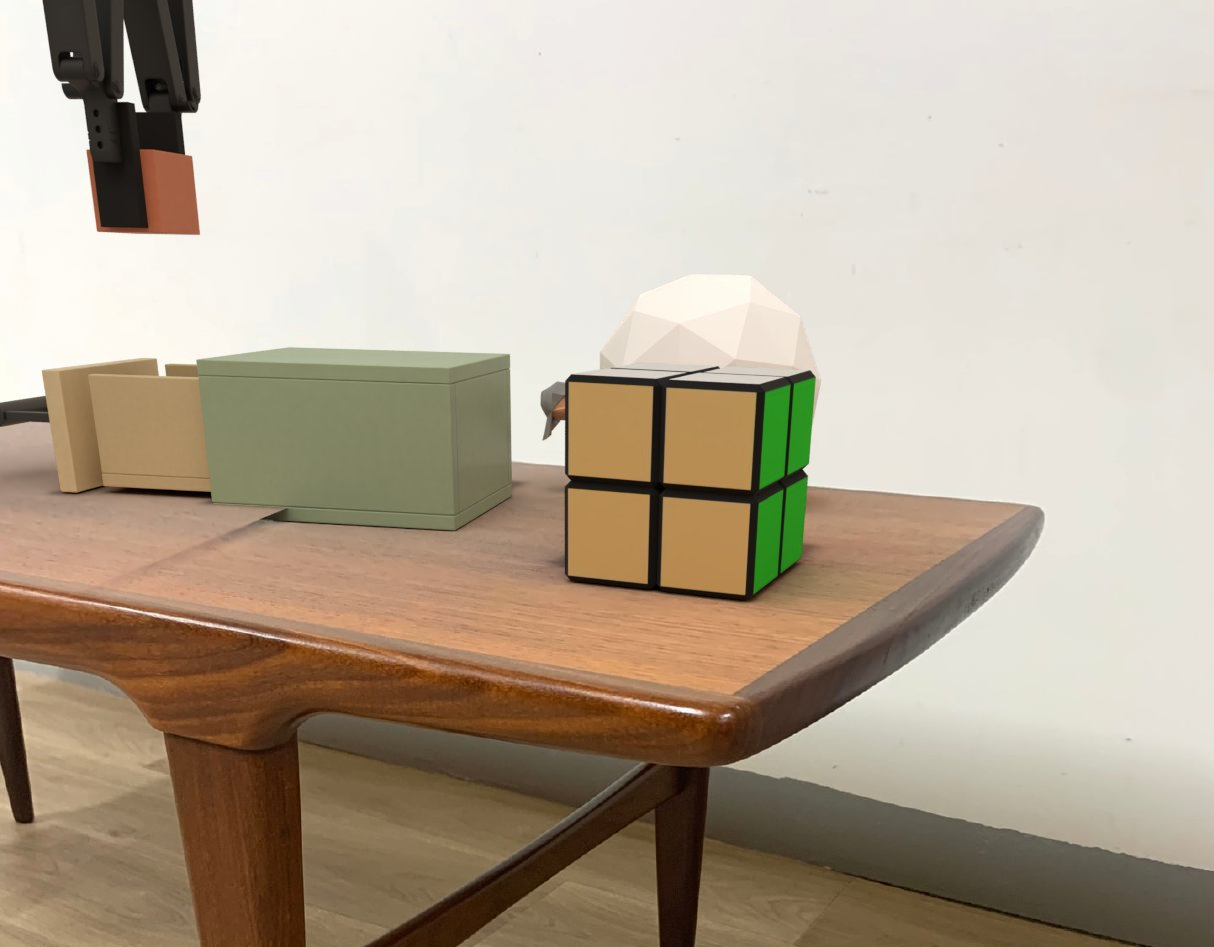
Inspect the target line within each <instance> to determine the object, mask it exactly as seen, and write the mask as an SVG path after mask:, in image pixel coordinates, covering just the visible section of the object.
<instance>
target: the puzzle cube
mask: <svg viewBox="0 0 1214 947" xmlns="http://www.w3.org/2000/svg"><path fill="white" fill-rule="evenodd" d="M815 381H816V377H815V375H814V374H813V373H812V372H811V370H795V369H774V368H753V367H732V366H729V367H725V368H720V367H719V366H706V365H684V364H663V363H636V364H630V365H624V366H618V367H612V368H610V369H609V368H606V369H600V368H599V369H594V370H589V371H583V372H577V373H571V374H570V375H569V376H568V377H567V378H566V379H565V381H564V383H565V420H564V474H565V476H566V477H567V478H568V479H569V480H570V481H569V482H568V483H566V485H565V486H564V575H565V576H566V577H567V579H568V580H569V581H570V582H578V583H579V582H580V583H588V584H597V585H598V584H599V585H605V586H607V585H608V586H616V587H625V588H633V589H634V588H636V589H644V590H651V589H653V588H655V587H656V586H657V587H658V588H659V589H660V590H661V592H666V593H667V592H668V593H676V594H684V595H685V594H686V595H695V596H702V597H703V596H704V597H713V598H722V599H730V600H731V599H732V600H741V601H748V600H749V599H750V598H752V597H753V596H754V595H756V594H757V593H758V592H759V591H761V590H762V589H763V588H764V587H766V586H767V585H769V584H770V583H771V582H773V581H774V580H775V579H776V578H778V577H780V575H781V574H783V573H784V572H786V571H787V570H788V569H789V568H790V567H792V566H794V565H795V564H796V563H797V562H798V561H799V560H801V559H802V557H803V547H804V546H803V545H804V536H805V521H806V507H807V497H808V496H807V494H808V485H809V484H808V483H809V475H808V474H807V473H806V471H805V470H804V469H805V468H806V467H807V466H808V465H810V456H811V445H812V431H813V424H812V420H813V421H814V419H813V407H814V394H815Z"/></svg>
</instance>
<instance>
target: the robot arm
mask: <svg viewBox="0 0 1214 947" xmlns="http://www.w3.org/2000/svg"><path fill="white" fill-rule="evenodd" d="M42 8H43V14H44V15H43V16H44V22H45V27H46V28H45V29H46V35H47V41H48V42H47V43H48V49H49V53H50V54H49V56H50V62H51V69H52V72H53V75H54V77H55V79H56V80H57V81H59V82H60V83H61V84H60V85H61V89H62V94H64V96H65V97H66V99H67V100H82V102H83V107H84V115H85V116H84V117H85V124H86V131H87V138H88V140H89V141H88V146H89V149H90V153H91V156H92V161H93V169H94V177H95V185H96V192H97V200H98V208H99V216H100V224H101V227H119V228H148V219H147V210H146V201H145V193H144V184H143V175H142V166H141V158H140V150H158V151H165V152H171V153H177V154H183V155H186V148H185V139H184V138H185V137H184V129H183V119H182V118H183V114H196V113H198V111H199V104H200V103H201V100H202V94H201V93H202V92H201V91H202V90H201V81H200V80H201V79H200V70H199V68H200V67H199V58H198V47H197V35H196V25H195V24H196V23H195V15H194V14H195V13H194V1H193V0H42ZM124 27H125V28H124ZM124 30H125V31H126V36H127V37H126V38H127V41H128V45H129V46H128V47H129V50H130V55H131V60H132V64H133V68H134V73H135V77H136V84H137V87H138V92H139V97H140V101H141V105H142V108H143V110H144V111H136V103H134V102H129V101H118V100H122V99H123V97H124V96H125V95H124V94H125V38H124V37H125V35H124V33H125V31H124ZM71 53H72V54H71Z"/></svg>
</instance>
